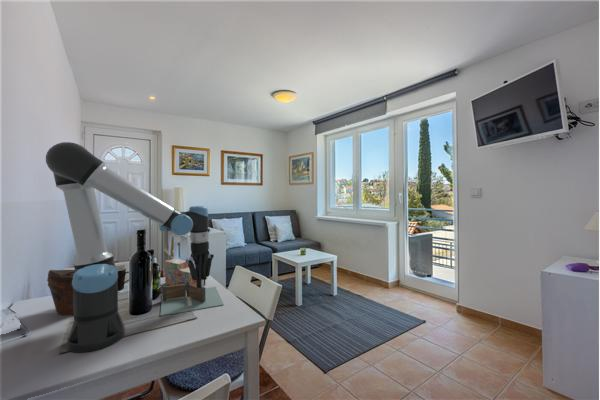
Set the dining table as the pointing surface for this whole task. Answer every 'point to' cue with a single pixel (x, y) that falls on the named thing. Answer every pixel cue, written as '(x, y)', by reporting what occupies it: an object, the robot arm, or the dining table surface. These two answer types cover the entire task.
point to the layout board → (190, 303)
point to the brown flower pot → (62, 290)
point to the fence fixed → (175, 291)
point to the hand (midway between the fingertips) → (201, 294)
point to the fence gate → (197, 292)
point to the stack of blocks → (178, 272)
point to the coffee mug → (121, 277)
